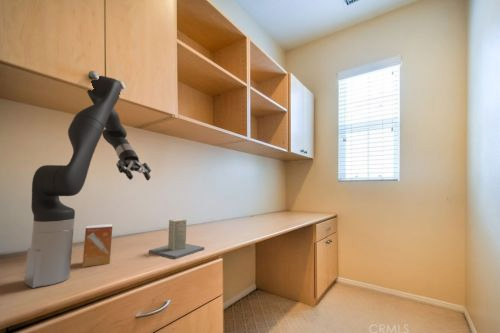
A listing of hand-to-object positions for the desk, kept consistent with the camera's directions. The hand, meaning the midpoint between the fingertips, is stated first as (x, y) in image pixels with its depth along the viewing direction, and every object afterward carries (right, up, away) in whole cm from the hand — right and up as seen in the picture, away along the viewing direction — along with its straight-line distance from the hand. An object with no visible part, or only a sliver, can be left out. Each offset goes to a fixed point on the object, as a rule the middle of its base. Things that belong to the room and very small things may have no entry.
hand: (140, 178), depth 103 cm
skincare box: (+18, -30, -6) cm, 35 cm away
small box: (-5, -29, -22) cm, 37 cm away
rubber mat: (+18, -31, -6) cm, 36 cm away
